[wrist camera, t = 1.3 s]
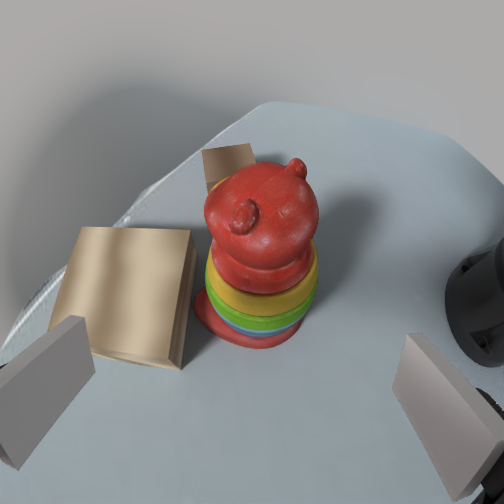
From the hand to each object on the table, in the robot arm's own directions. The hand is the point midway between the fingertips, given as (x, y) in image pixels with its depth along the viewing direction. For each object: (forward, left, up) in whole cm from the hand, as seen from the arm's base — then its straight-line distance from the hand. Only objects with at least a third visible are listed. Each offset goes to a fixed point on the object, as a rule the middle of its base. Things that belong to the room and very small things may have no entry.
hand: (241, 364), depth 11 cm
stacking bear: (0, -10, -18) cm, 21 cm away
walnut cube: (+4, -25, -18) cm, 31 cm away
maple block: (+13, -9, -18) cm, 24 cm away
